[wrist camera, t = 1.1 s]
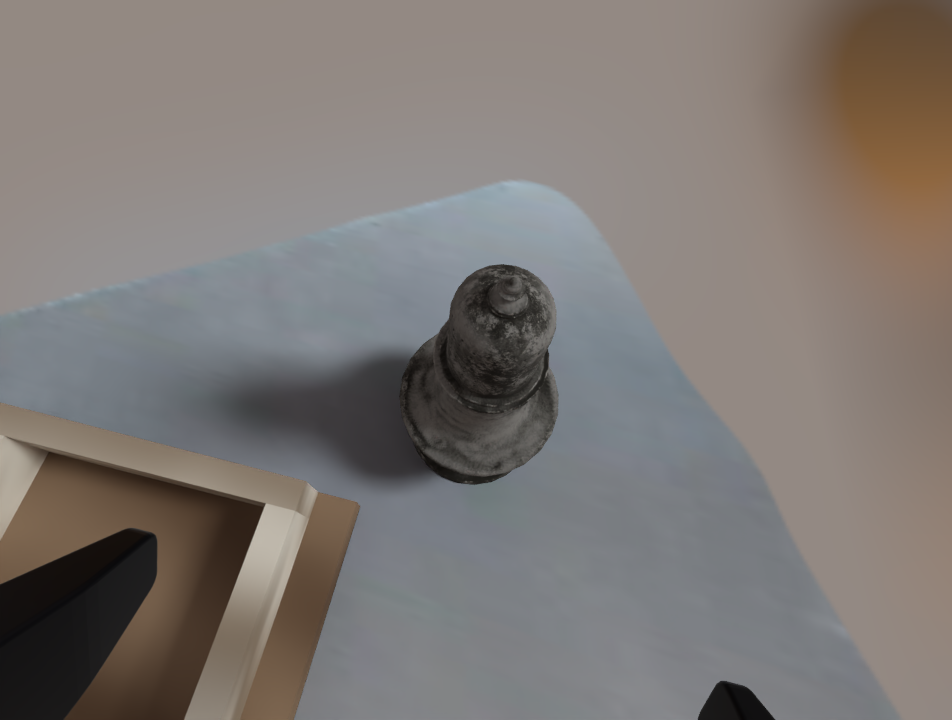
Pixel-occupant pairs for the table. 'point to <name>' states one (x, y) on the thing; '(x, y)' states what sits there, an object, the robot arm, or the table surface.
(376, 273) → the table surface
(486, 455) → the salt shaker
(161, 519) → the board
